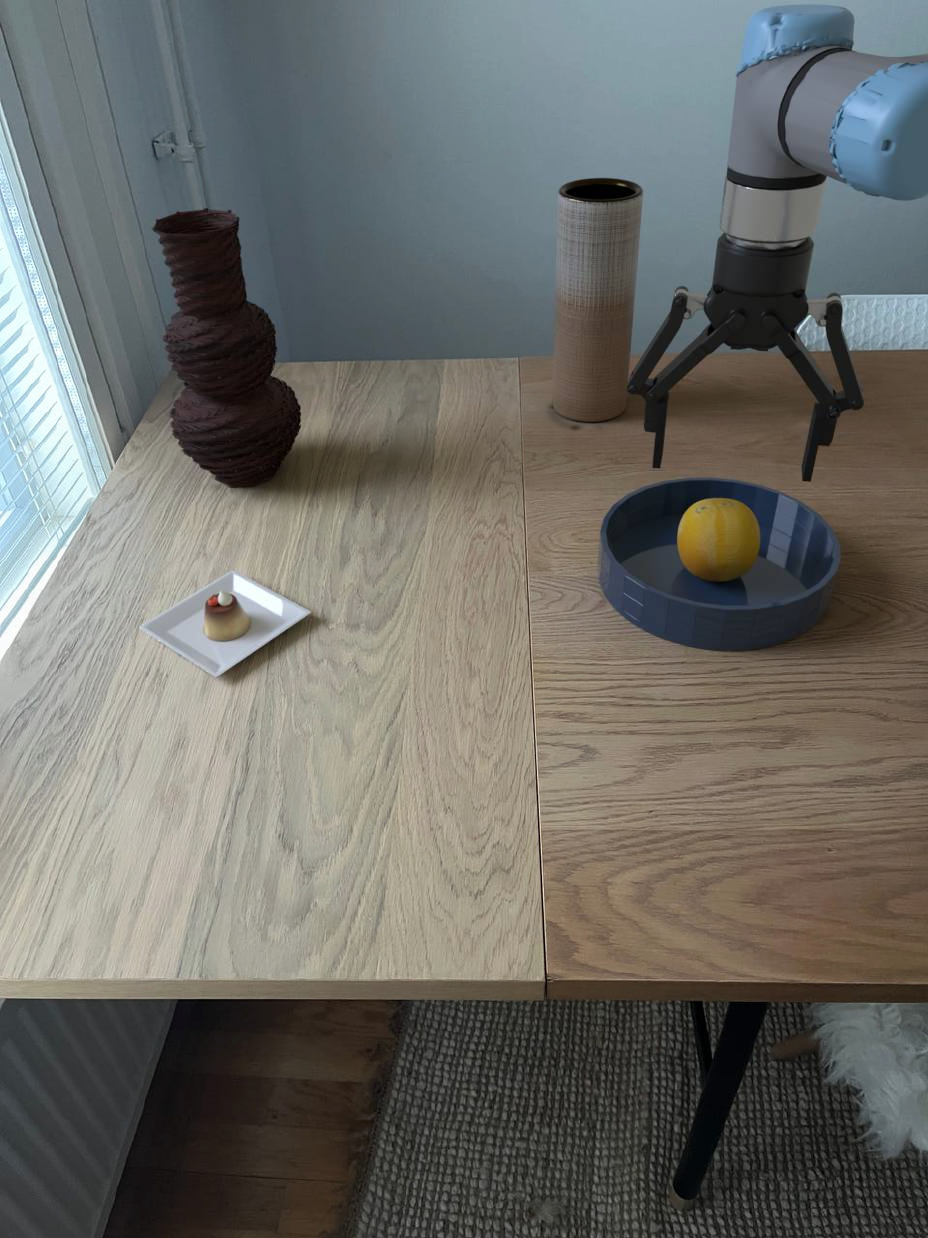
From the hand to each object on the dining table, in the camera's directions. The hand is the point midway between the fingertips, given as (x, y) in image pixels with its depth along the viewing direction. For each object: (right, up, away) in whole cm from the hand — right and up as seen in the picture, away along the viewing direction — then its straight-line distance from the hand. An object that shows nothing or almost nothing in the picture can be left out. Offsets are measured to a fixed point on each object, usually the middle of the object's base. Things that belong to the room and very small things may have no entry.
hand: (730, 468), depth 89 cm
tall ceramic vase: (-8, +14, +39) cm, 43 cm away
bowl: (0, -10, +8) cm, 13 cm away
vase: (-52, +4, +29) cm, 60 cm away
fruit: (0, -10, +8) cm, 12 cm away
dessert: (-49, -15, +5) cm, 51 cm away
